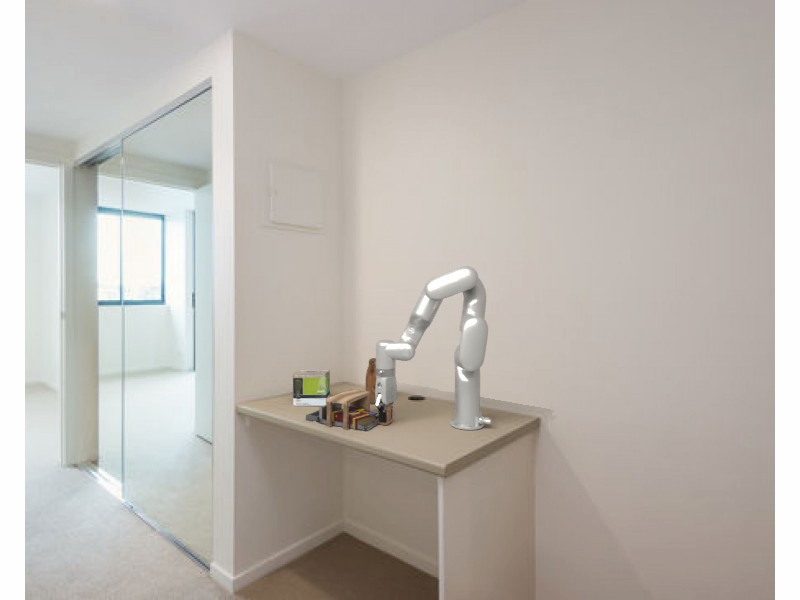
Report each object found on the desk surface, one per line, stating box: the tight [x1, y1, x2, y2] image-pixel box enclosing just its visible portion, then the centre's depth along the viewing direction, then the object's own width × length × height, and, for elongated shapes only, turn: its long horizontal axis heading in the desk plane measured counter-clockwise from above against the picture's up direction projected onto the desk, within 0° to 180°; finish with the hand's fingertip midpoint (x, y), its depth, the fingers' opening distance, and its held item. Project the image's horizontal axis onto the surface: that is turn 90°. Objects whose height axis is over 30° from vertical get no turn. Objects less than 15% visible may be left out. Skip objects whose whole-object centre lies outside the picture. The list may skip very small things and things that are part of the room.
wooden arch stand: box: [326, 389, 371, 431], centre depth 164 cm, size 9×17×11 cm, turn 154°
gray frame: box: [305, 409, 319, 423], centre depth 170 cm, size 6×11×2 cm, turn 154°
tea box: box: [292, 369, 331, 407], centre depth 192 cm, size 15×10×15 cm, turn 89°
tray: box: [318, 402, 392, 432], centre depth 163 cm, size 24×14×7 cm, turn 64°
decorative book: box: [332, 406, 378, 431], centre depth 164 cm, size 11×16×5 cm
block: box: [365, 357, 377, 404], centre depth 196 cm, size 11×8×20 cm
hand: (385, 419), depth 162 cm, fingers closed on tray, 4 cm apart
